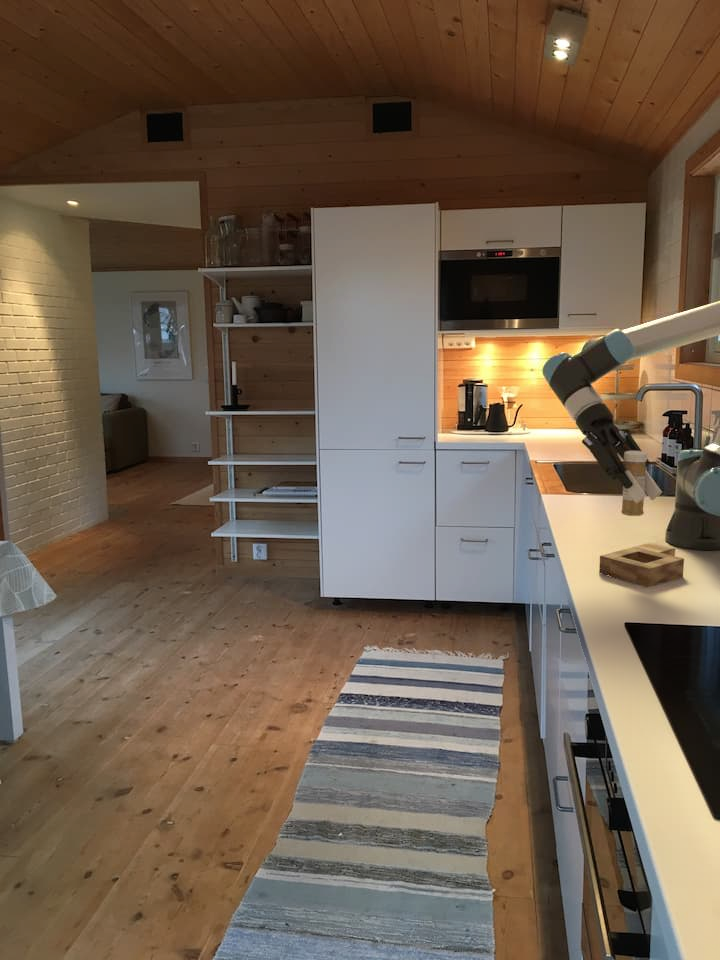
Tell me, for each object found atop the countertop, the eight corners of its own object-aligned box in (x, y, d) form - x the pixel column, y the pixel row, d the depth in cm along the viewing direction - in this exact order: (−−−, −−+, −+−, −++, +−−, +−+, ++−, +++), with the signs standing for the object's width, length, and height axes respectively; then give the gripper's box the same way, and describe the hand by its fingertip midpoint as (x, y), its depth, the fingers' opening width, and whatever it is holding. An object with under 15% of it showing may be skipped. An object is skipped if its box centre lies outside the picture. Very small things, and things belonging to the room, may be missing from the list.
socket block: (634, 563, 171) (635, 546, 170) (682, 576, 161) (684, 558, 160) (599, 573, 164) (600, 555, 163) (647, 587, 154) (648, 568, 154)
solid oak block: (650, 559, 174) (651, 542, 174) (674, 565, 169) (675, 547, 169) (634, 563, 171) (635, 546, 170) (657, 570, 166) (658, 552, 165)
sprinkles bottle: (617, 512, 165) (620, 450, 162) (638, 511, 165) (641, 449, 163) (626, 517, 160) (629, 453, 158) (647, 516, 161) (651, 453, 158)
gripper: (605, 420, 177) (663, 502, 166) (552, 426, 167) (610, 513, 157) (625, 399, 171) (687, 482, 161) (571, 403, 162) (633, 492, 151)
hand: (649, 497), depth 159 cm, fingers closed on sprinkles bottle, 4 cm apart
